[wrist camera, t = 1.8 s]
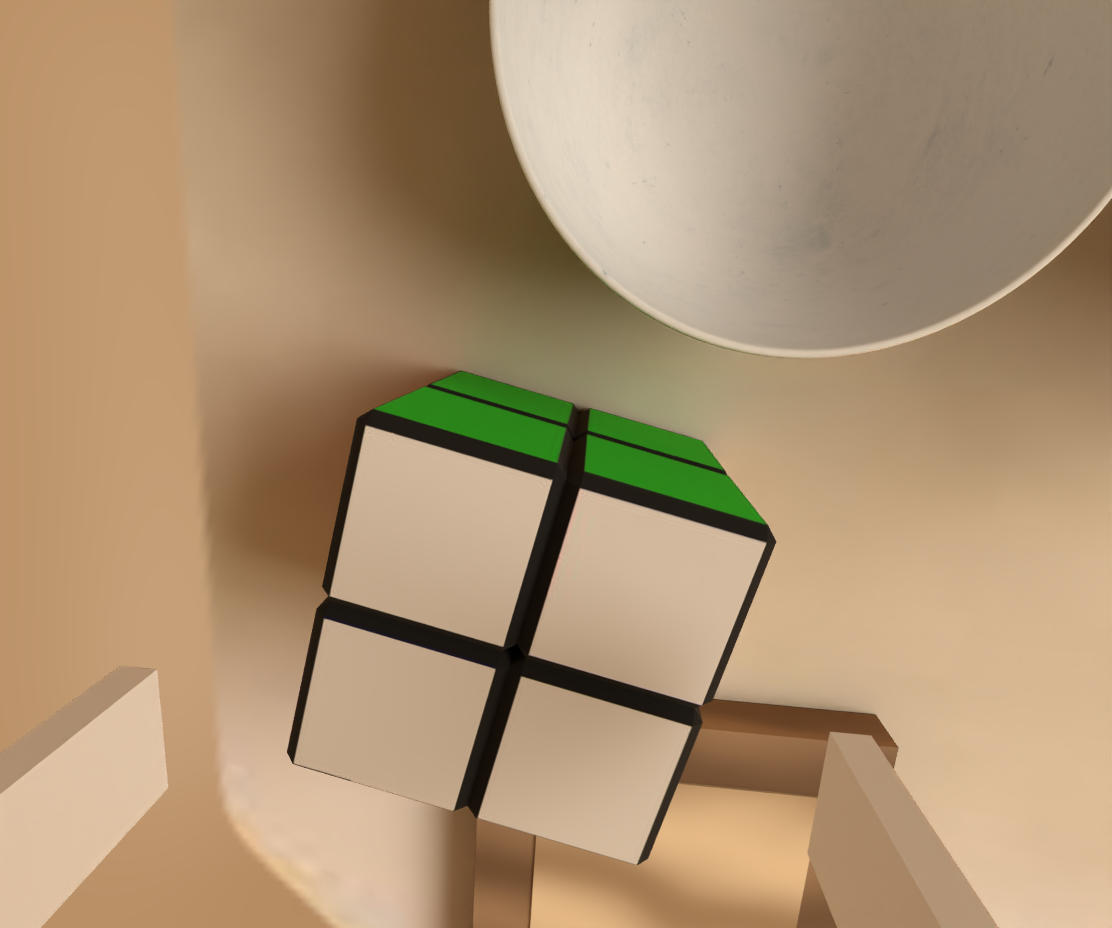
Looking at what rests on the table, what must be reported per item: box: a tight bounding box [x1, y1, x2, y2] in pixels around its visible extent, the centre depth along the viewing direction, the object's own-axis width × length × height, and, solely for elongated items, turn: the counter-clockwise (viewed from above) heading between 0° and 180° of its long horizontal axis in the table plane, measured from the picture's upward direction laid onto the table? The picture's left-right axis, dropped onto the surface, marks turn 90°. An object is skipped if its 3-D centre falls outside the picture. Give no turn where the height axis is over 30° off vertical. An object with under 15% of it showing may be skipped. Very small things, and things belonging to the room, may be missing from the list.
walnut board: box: [473, 699, 898, 928], centre depth 27 cm, size 16×16×2 cm
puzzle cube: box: [287, 371, 776, 865], centre depth 20 cm, size 10×10×10 cm
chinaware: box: [489, 0, 1112, 358], centre depth 17 cm, size 15×15×8 cm
